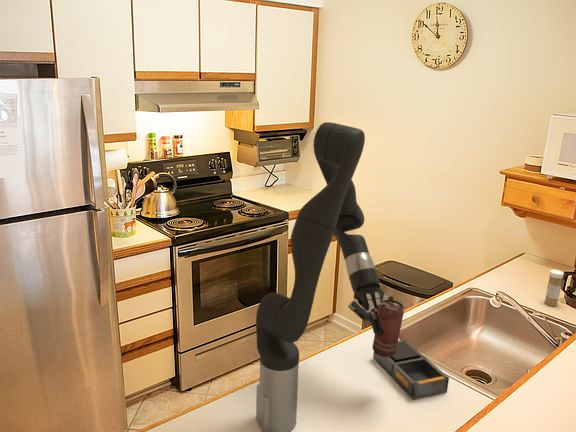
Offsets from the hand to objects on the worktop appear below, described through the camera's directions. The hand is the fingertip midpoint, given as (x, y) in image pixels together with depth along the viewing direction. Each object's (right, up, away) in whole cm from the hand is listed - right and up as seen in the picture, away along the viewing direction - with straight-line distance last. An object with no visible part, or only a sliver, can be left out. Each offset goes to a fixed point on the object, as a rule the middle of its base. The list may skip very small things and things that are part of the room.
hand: (381, 334), depth 130 cm
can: (+1, -6, +4) cm, 7 cm away
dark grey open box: (+11, -15, +16) cm, 25 cm away
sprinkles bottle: (+77, -4, +65) cm, 100 cm away
